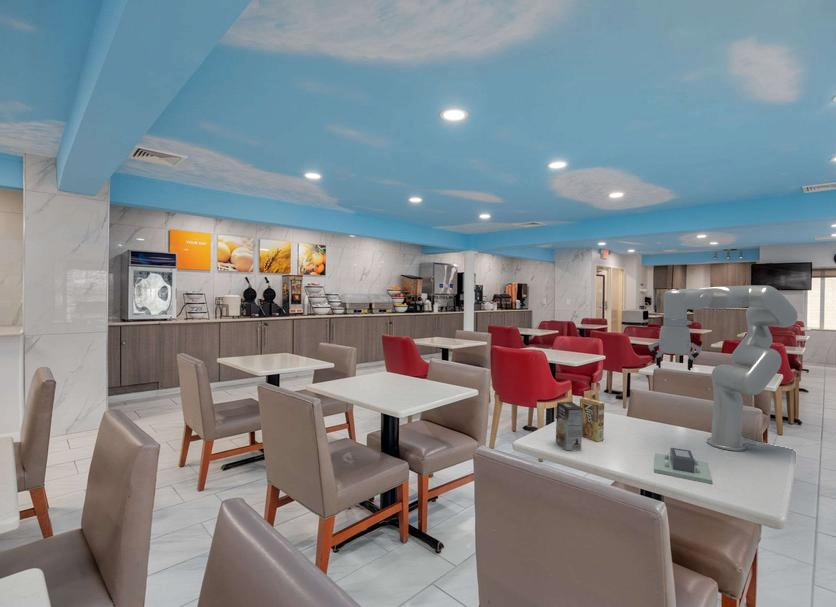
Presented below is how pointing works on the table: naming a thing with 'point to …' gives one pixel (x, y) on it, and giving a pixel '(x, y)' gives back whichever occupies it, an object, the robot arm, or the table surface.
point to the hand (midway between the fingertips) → (674, 368)
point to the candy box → (592, 419)
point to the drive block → (682, 460)
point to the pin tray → (665, 467)
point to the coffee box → (569, 425)
